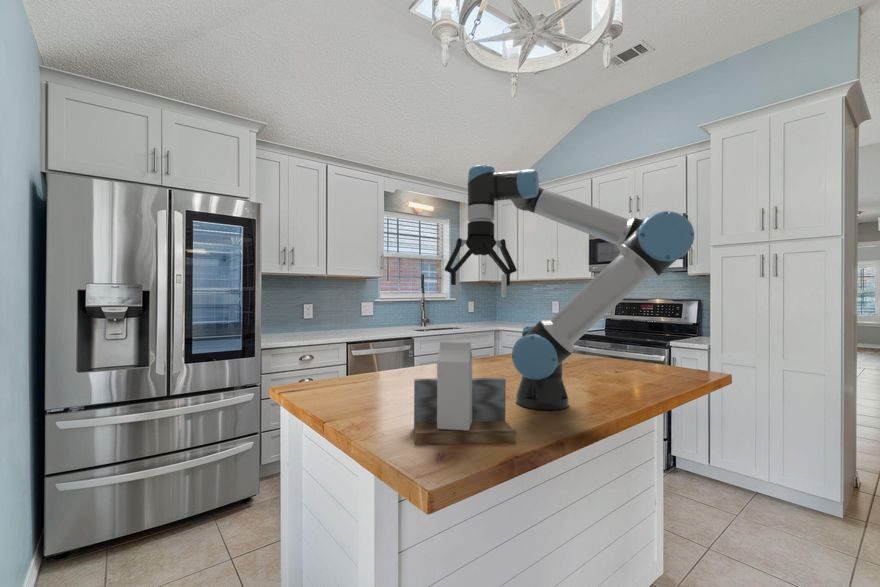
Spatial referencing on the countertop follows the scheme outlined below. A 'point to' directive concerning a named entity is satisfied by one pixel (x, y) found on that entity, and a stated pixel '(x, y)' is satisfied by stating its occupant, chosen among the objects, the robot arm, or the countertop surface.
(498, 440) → the wall board
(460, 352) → the milk carton
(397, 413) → the countertop surface
